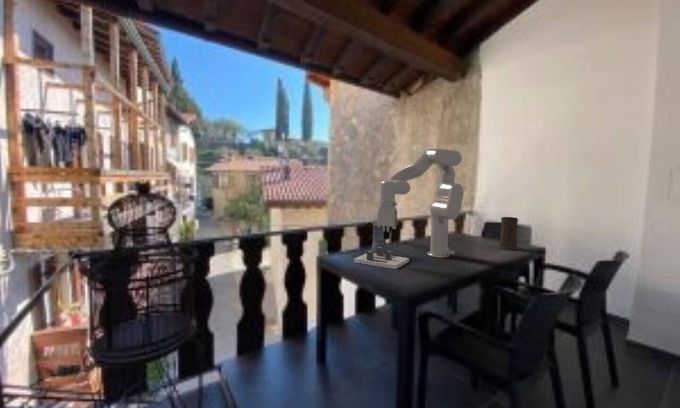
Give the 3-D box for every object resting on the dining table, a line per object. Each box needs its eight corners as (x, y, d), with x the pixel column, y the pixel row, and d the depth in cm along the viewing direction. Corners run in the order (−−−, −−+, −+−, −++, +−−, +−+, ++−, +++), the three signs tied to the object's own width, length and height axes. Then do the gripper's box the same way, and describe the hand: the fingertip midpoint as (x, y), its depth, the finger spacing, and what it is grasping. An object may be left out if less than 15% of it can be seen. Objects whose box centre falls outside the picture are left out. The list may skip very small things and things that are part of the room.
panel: (408, 261, 226) (408, 257, 225) (395, 269, 210) (396, 265, 210) (368, 255, 238) (368, 252, 237) (353, 262, 222) (353, 258, 222)
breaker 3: (391, 258, 222) (392, 251, 222) (389, 259, 220) (389, 252, 219) (387, 258, 223) (387, 250, 223) (385, 259, 221) (385, 251, 220)
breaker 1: (373, 258, 221) (373, 251, 221) (370, 260, 219) (371, 252, 218) (369, 258, 222) (369, 250, 222) (366, 259, 220) (366, 251, 219)
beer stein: (520, 250, 258) (521, 218, 257) (502, 250, 258) (504, 217, 257) (510, 247, 273) (511, 216, 272) (493, 246, 273) (495, 216, 273)
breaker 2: (382, 254, 231) (382, 247, 231) (380, 255, 229) (380, 248, 228) (378, 253, 233) (378, 246, 232) (376, 255, 230) (376, 247, 230)
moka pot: (390, 256, 237) (391, 221, 235) (363, 254, 240) (364, 220, 238) (391, 252, 247) (393, 219, 244) (366, 251, 250) (366, 217, 247)
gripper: (403, 204, 219) (402, 239, 221) (377, 202, 226) (376, 236, 228) (397, 206, 212) (396, 241, 214) (371, 204, 220) (370, 238, 222)
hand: (386, 238), depth 221 cm, fingers closed
